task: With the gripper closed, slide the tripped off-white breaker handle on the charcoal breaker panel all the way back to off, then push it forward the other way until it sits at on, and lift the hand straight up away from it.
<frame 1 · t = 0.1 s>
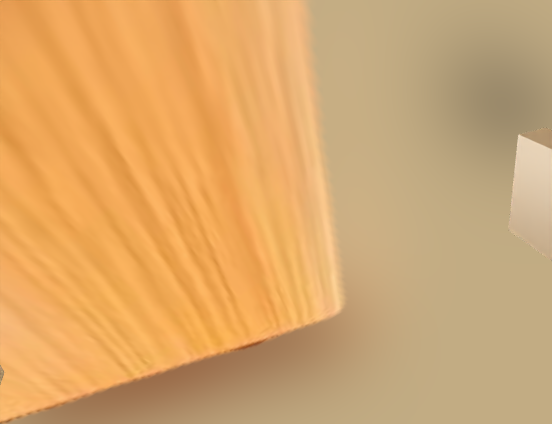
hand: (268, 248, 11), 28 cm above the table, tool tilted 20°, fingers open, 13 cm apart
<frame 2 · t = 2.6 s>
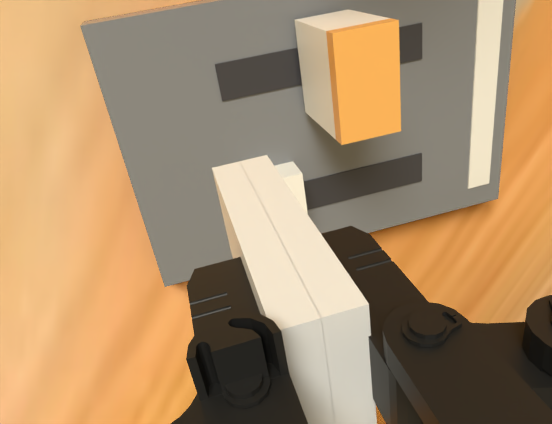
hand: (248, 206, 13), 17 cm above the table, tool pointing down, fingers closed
breaker handle: (345, 72, 24), point 5 cm above the table, slide at 4.0 cm
breaker panel: (319, 119, 31), on the table
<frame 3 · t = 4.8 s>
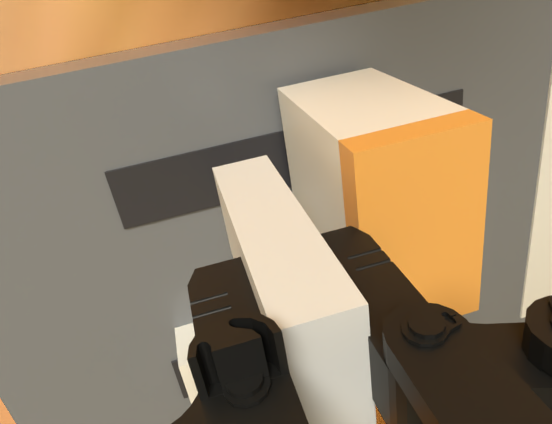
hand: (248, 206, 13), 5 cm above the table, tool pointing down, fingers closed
breaker handle: (369, 189, 13), point 5 cm above the table, slide at 2.9 cm, touching gripper
breaker panel: (295, 230, 20), on the table
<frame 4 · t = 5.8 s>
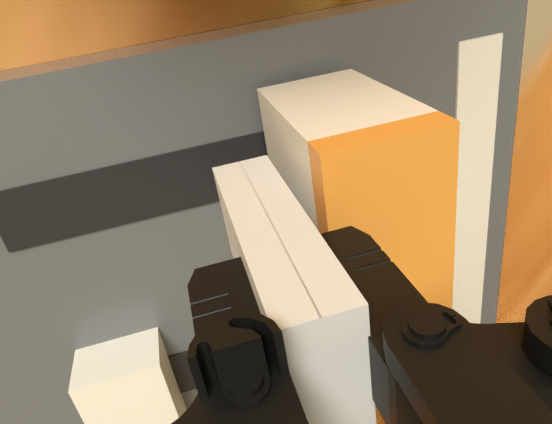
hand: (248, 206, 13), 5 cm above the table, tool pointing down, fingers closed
breaker handle: (346, 190, 13), point 5 cm above the table, slide at -0.1 cm
breaker panel: (208, 248, 19), on the table
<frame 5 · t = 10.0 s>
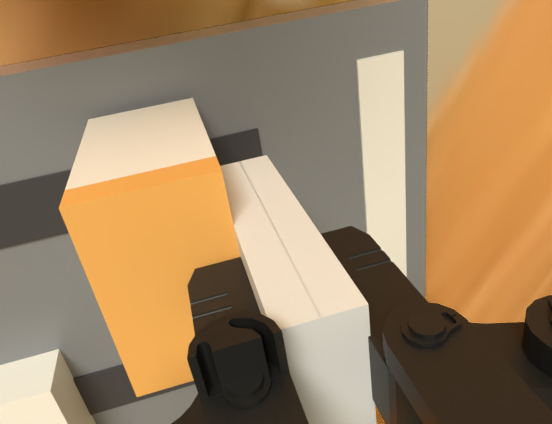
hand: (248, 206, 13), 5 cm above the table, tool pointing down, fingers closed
breaker handle: (168, 229, 13), point 5 cm above the table, slide at 1.3 cm, touching gripper
breaker panel: (118, 267, 19), on the table
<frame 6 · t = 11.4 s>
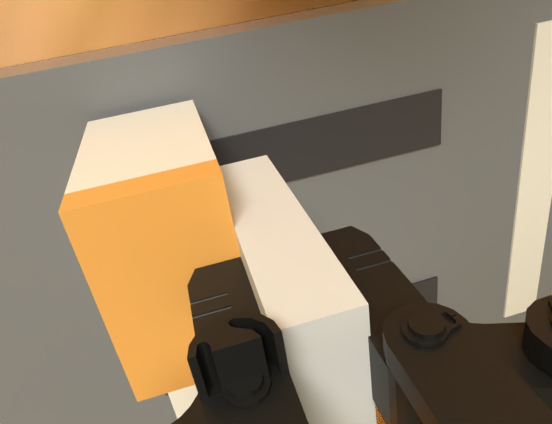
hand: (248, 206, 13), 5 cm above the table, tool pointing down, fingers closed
breaker handle: (168, 232, 12), point 5 cm above the table, slide at 7.8 cm, touching gripper
breaker panel: (278, 228, 20), on the table
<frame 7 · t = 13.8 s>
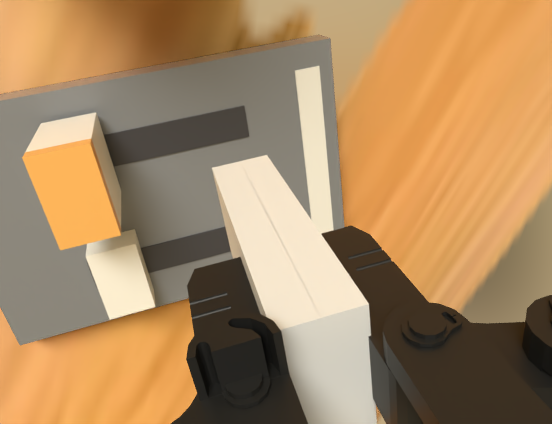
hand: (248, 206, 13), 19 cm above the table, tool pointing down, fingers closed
breaker handle: (79, 177, 26), point 5 cm above the table, slide at 8.0 cm
breaker panel: (164, 187, 33), on the table
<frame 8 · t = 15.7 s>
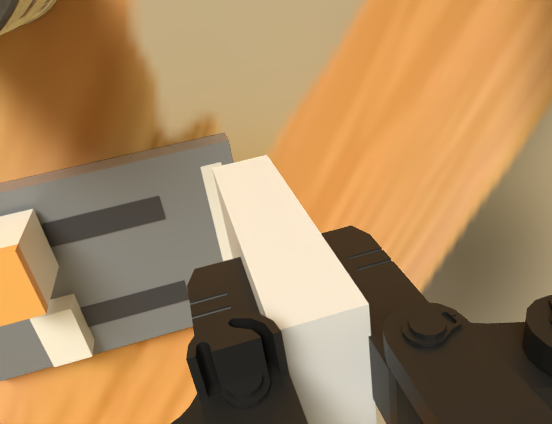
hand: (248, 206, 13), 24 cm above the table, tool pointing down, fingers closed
breaker handle: (16, 265, 32), point 5 cm above the table, slide at 8.0 cm
breaker panel: (101, 256, 40), on the table
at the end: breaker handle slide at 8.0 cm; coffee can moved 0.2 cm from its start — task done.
